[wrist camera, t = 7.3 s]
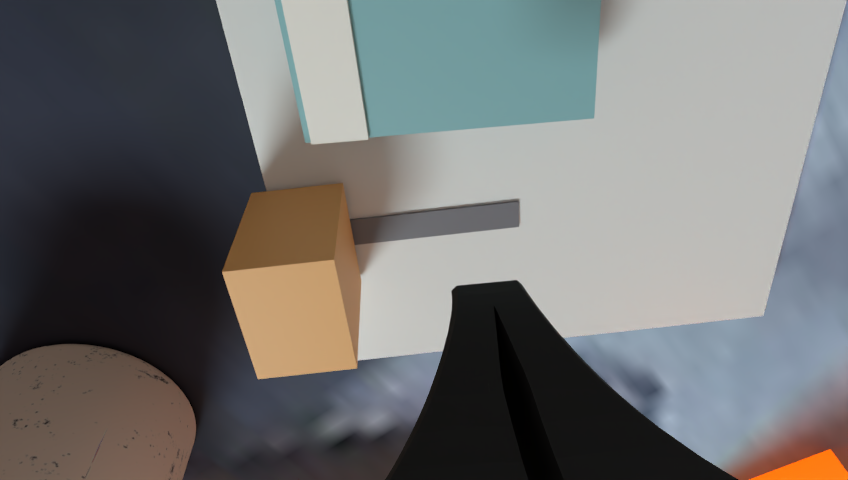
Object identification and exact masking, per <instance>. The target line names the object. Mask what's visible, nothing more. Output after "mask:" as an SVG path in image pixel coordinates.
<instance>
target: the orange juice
mask: <svg viewBox="0 0 848 480" xmlns="http://www.w3.org/2000/svg"><path fill="white" fill-rule="evenodd" d="M750 480H848V472H847V471H846V470H845V468H844V467H843V465H842V464H841V463H840V461H839V460H838V459H837V457H836V456H835V455H834V453H833V452H832V451H831V449H829V450H826V451H824V452H821V453H818V454H816V455H813V456H811V457H808V458H805V459H803V460H800V461H797V462H795V463H792V464H789V465H787V466H784V467H781V468H779V469H776V470H773V471H771V472H768V473H765V474H763V475H760V476H758V477H755V478H752V479H750Z"/></svg>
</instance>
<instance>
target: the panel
mask: <svg viewBox="0 0 848 480" xmlns="http://www.w3.org/2000/svg"><path fill="white" fill-rule="evenodd" d="M846 1H847V0H601V11H600V28H599V45H598V62H597V80H596V97H595V114H594V118H593V119H581V120H570V121H558V122H546V123H534V124H523V125H511V126H499V127H487V128H476V129H464V130H452V131H440V132H428V133H417V134H405V135H393V136H381V137H370V138H369V140H360V141H348V142H336V143H325V144H313V145H311V143H305V139H304V135H303V130H302V125H301V121H300V116H299V112H298V107H297V102H296V98H295V93H294V88H293V84H292V79H291V75H290V70H289V65H288V61H287V56H286V52H285V47H284V42H283V38H282V33H281V28H280V24H279V19H278V15H277V10H276V5H275V1H274V0H216V2H217V6H218V10H219V14H220V17H221V21H222V25H223V29H224V32H225V36H226V40H227V44H228V48H229V51H230V55H231V59H232V63H233V66H234V70H235V74H236V78H237V81H238V85H239V89H240V93H241V97H242V100H243V104H244V108H245V112H246V115H247V119H248V123H249V127H250V130H251V134H252V138H253V142H254V145H255V149H256V153H257V157H258V161H259V164H260V168H261V172H262V176H263V179H264V183H265V187H266V191H275V190H284V189H293V188H302V187H311V186H320V185H329V184H338V183H343V186H344V191H345V196H346V202H347V207H348V212H349V218H350V223H351V228H352V234H353V239H354V244H355V250H356V255H357V260H358V266H359V271H360V276H361V300H360V320H359V340H358V360H366V359H375V358H384V357H393V356H402V355H412V354H421V353H430V352H439V351H443V349H444V345H445V341H446V337H447V334H448V329H449V324H450V318H451V311H452V292H451V291H452V290H453V289H454V288H455V287H456V286H458V285H468V284H479V283H490V282H500V281H511V280H517V281H519V282H520V283H521V284H522V285H523V287H524V288H525V290H526V291H527V293H528V294H529V296H530V297H531V298H532V300H533V301H534V303H535V304H536V305H537V307H538V308H539V309H540V311H541V312H542V313H543V314H544V316H545V317H546V318H547V319H548V321H549V322H550V323H551V324H552V326H553V327H554V328H555V329H556V330H557V332H558V333H559V334H560V335H561V336H562V337H563V338H567V337H576V336H585V335H594V334H603V333H612V332H621V331H630V330H640V329H649V328H658V327H667V326H676V325H685V324H694V323H703V322H713V321H722V320H731V319H740V318H749V317H758V316H763V315H764V311H765V307H766V304H767V300H768V296H769V292H770V289H771V285H772V281H773V277H774V273H775V270H776V266H777V262H778V258H779V254H780V251H781V247H782V243H783V239H784V236H785V232H786V228H787V224H788V220H789V217H790V213H791V209H792V205H793V201H794V198H795V194H796V190H797V186H798V183H799V179H800V175H801V171H802V167H803V164H804V160H805V156H806V152H807V148H808V145H809V141H810V137H811V133H812V130H813V126H814V122H815V118H816V114H817V111H818V107H819V103H820V99H821V95H822V92H823V88H824V84H825V80H826V77H827V73H828V69H829V65H830V61H831V58H832V54H833V50H834V46H835V42H836V39H837V35H838V31H839V27H840V24H841V20H842V16H843V12H844V8H845V5H846Z"/></svg>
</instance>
